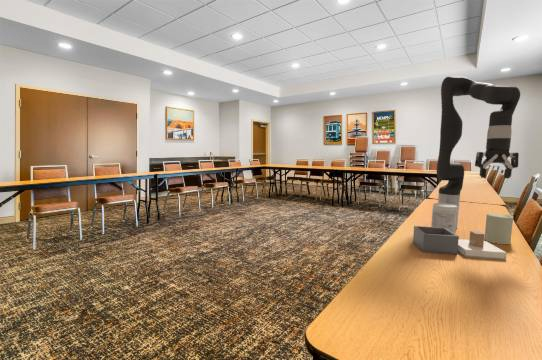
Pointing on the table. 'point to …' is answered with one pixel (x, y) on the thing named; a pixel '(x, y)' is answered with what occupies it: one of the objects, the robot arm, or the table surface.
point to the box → (435, 240)
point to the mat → (484, 257)
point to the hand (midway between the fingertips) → (494, 177)
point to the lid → (479, 247)
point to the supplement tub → (444, 216)
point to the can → (498, 228)
